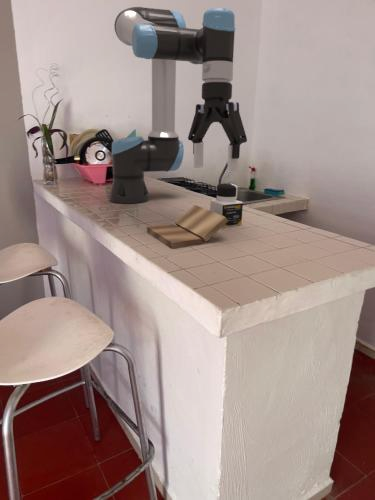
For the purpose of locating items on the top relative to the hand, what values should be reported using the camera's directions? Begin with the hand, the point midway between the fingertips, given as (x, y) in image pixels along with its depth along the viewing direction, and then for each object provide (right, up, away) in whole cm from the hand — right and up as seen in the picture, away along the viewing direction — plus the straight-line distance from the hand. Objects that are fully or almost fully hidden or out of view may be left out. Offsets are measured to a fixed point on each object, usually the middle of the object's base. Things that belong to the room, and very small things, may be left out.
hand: (214, 169), depth 99 cm
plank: (-3, -14, +3) cm, 15 cm away
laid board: (-11, -18, 0) cm, 21 cm away
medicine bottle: (+4, -14, +14) cm, 20 cm away
